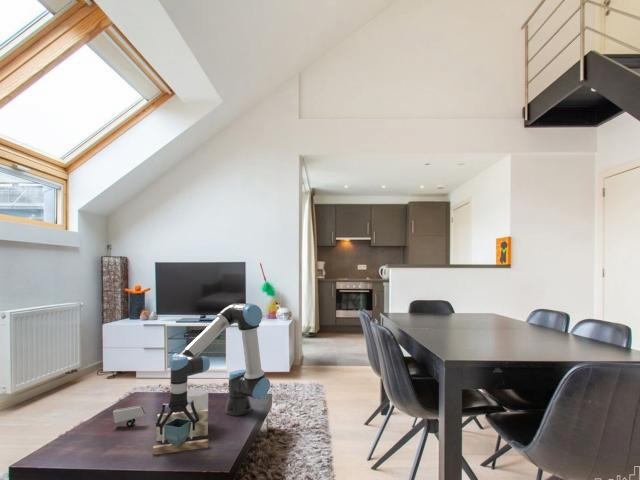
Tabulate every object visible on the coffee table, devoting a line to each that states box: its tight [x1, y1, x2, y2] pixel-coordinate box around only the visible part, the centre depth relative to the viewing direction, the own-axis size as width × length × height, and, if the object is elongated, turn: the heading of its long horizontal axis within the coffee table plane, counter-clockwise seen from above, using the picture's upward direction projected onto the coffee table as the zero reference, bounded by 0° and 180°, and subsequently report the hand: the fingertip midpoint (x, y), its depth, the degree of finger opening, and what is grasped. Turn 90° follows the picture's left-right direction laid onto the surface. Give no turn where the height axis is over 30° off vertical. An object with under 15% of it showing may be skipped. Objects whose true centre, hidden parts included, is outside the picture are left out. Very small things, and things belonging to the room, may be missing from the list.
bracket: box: [112, 405, 147, 428], centre depth 202 cm, size 4×10×15 cm
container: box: [182, 387, 209, 412], centre depth 202 cm, size 14×14×18 cm
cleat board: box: [152, 408, 209, 456], centre depth 183 cm, size 24×16×12 cm, turn 107°
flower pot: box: [164, 418, 191, 445], centre depth 176 cm, size 9×9×9 cm
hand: (177, 439), depth 176 cm, fingers closed on flower pot, 11 cm apart
